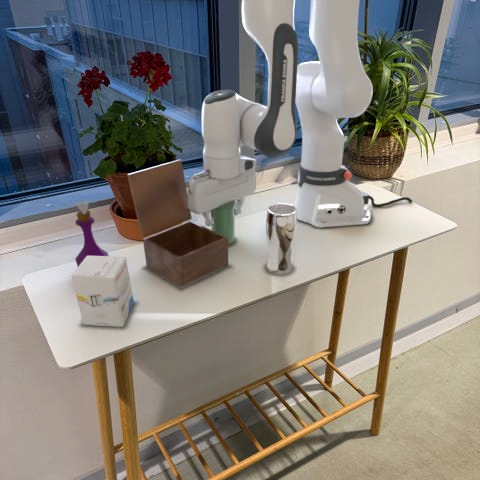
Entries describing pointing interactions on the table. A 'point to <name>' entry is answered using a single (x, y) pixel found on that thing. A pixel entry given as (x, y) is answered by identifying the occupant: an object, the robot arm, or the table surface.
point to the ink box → (103, 290)
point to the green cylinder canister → (224, 221)
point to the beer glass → (280, 237)
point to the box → (186, 252)
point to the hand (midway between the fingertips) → (223, 219)
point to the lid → (159, 197)
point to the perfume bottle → (87, 234)
